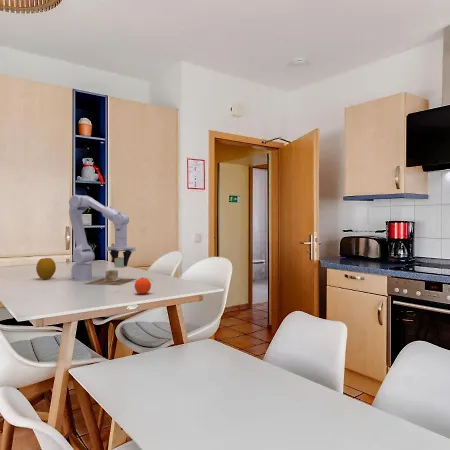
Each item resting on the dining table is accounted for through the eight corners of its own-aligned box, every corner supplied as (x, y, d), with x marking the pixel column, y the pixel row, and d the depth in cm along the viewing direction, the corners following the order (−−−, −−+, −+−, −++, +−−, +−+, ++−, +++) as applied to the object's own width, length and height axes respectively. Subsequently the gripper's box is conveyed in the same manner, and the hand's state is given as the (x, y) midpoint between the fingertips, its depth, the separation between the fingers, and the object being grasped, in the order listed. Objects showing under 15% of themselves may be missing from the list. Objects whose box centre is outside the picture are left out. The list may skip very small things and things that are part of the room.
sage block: (114, 267, 200) (114, 258, 200) (118, 266, 205) (118, 257, 205) (123, 267, 200) (123, 258, 199) (127, 266, 204) (127, 257, 204)
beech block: (105, 280, 206) (105, 271, 206) (109, 278, 210) (109, 270, 210) (113, 280, 205) (113, 271, 205) (118, 279, 209) (117, 270, 209)
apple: (51, 280, 212) (50, 258, 211) (32, 280, 212) (32, 258, 212) (59, 277, 221) (58, 256, 221) (41, 277, 222) (41, 256, 221)
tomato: (150, 291, 180) (150, 275, 180) (155, 294, 174) (155, 277, 174) (132, 293, 176) (132, 276, 176) (137, 296, 170) (136, 279, 170)
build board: (82, 286, 194) (82, 283, 194) (103, 279, 214) (103, 277, 214) (120, 287, 191) (120, 285, 191) (137, 280, 210) (137, 278, 210)
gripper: (103, 238, 199) (103, 266, 200) (131, 238, 197) (131, 267, 197) (110, 237, 206) (110, 264, 207) (137, 238, 203) (137, 265, 204)
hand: (120, 265), depth 202 cm, fingers closed on sage block, 4 cm apart
